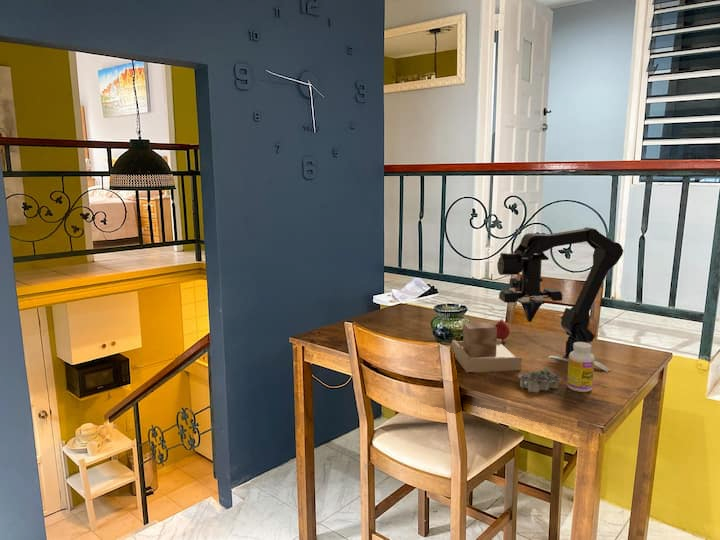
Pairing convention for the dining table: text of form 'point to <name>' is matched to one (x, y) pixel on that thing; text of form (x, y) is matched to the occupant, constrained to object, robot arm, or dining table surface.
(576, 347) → the supplement bottle
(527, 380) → the egg carton
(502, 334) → the onion
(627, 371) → the dining table surface
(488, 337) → the walnut block
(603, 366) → the fork
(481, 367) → the tray
